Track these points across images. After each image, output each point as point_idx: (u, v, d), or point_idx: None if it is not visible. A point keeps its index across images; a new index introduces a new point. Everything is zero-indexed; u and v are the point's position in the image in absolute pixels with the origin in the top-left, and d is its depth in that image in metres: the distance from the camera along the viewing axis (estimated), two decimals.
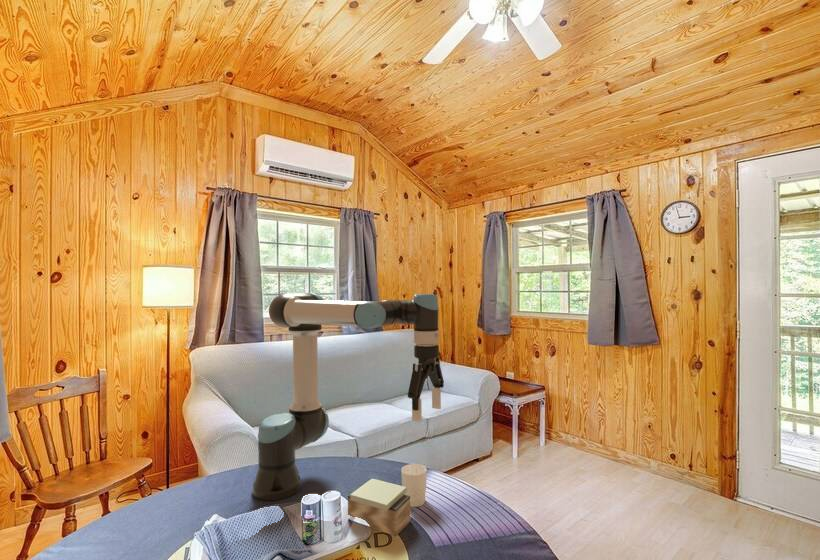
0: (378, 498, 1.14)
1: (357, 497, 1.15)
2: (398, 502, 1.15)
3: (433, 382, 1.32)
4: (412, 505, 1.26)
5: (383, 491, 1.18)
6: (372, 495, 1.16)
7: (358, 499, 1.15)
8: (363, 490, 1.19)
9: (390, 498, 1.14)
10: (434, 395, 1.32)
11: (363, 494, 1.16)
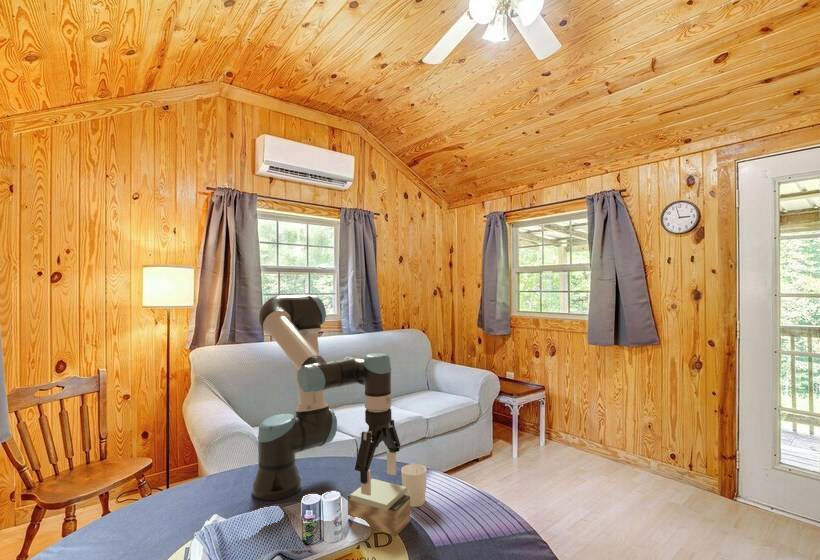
0: (378, 498, 1.14)
1: (357, 497, 1.15)
2: (398, 502, 1.15)
3: (388, 446, 1.24)
4: (412, 505, 1.26)
5: (383, 491, 1.18)
6: (372, 495, 1.16)
7: (358, 499, 1.15)
8: None
9: (390, 498, 1.14)
10: (389, 460, 1.24)
11: (363, 494, 1.16)
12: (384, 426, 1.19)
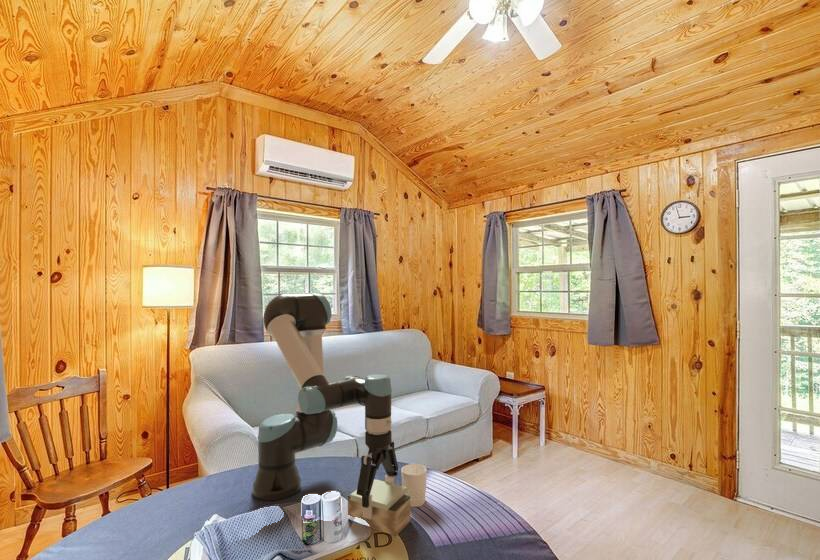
0: (378, 498, 1.14)
1: (357, 497, 1.15)
2: (398, 502, 1.15)
3: (386, 469, 1.23)
4: (412, 505, 1.26)
5: (383, 491, 1.18)
6: (372, 495, 1.16)
7: (358, 499, 1.15)
8: None
9: (390, 498, 1.14)
10: None
11: None
12: (384, 447, 1.19)
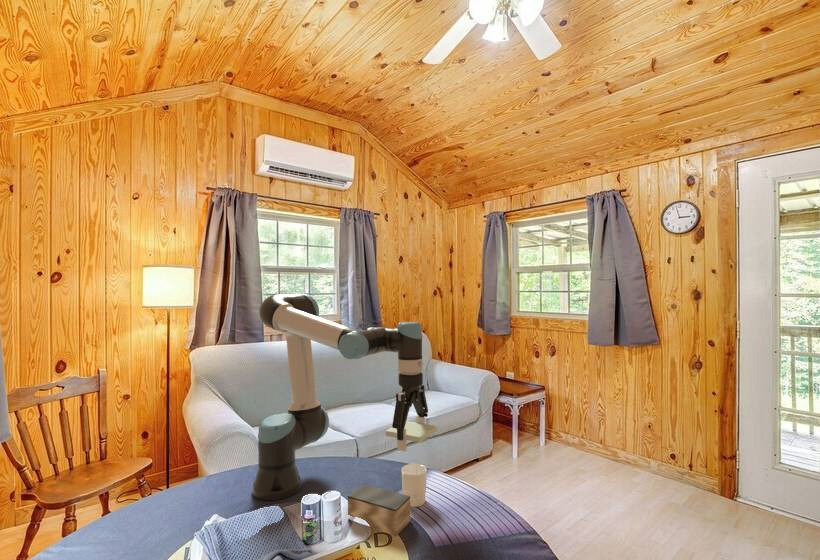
0: (412, 433, 1.24)
1: (392, 432, 1.25)
2: (398, 502, 1.15)
3: (417, 411, 1.33)
4: (412, 505, 1.26)
5: (415, 428, 1.27)
6: (406, 431, 1.25)
7: (393, 434, 1.25)
8: None
9: (423, 432, 1.24)
10: None
11: None
12: (416, 388, 1.29)
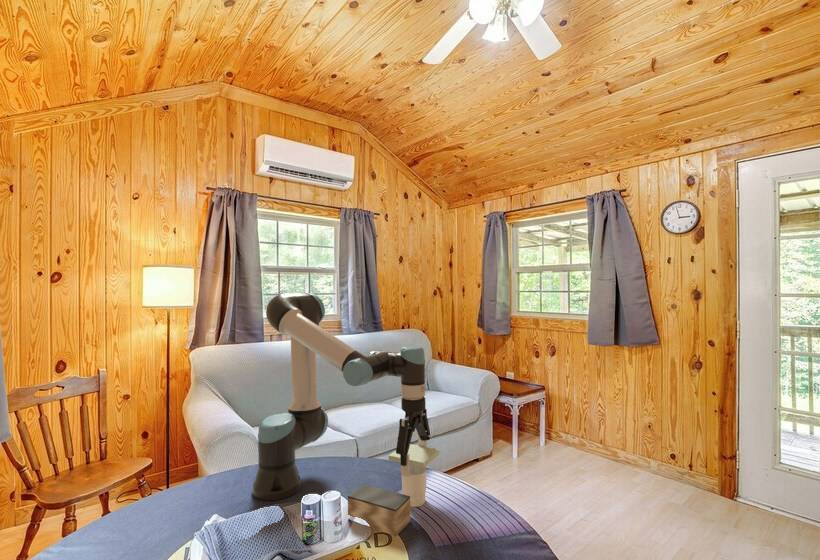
0: (415, 458, 1.25)
1: (396, 457, 1.26)
2: (398, 502, 1.15)
3: (419, 434, 1.34)
4: (412, 505, 1.26)
5: (418, 452, 1.28)
6: None
7: (396, 459, 1.26)
8: None
9: (426, 457, 1.25)
10: None
11: None
12: (418, 412, 1.30)
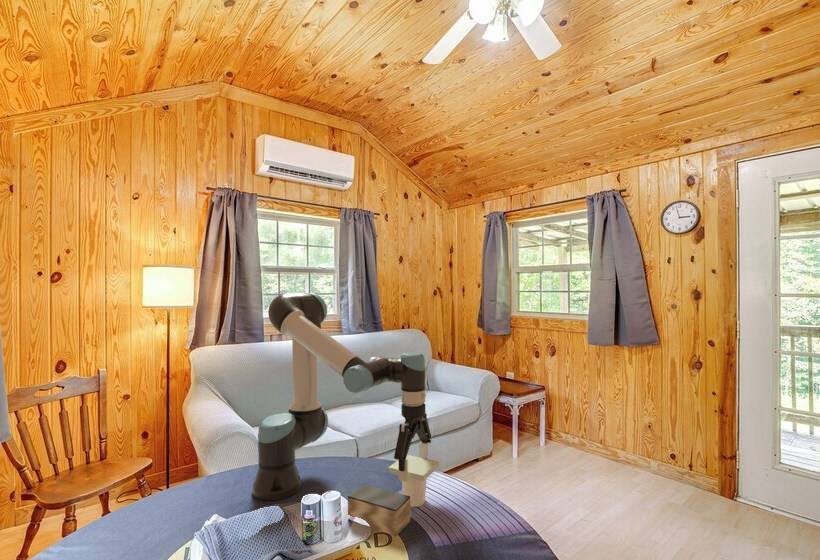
0: (415, 470, 1.25)
1: (395, 469, 1.26)
2: (398, 502, 1.15)
3: (420, 438, 1.35)
4: (412, 505, 1.26)
5: (418, 465, 1.28)
6: (409, 468, 1.26)
7: (396, 471, 1.26)
8: None
9: (426, 470, 1.25)
10: (421, 450, 1.35)
11: None
12: (418, 419, 1.30)
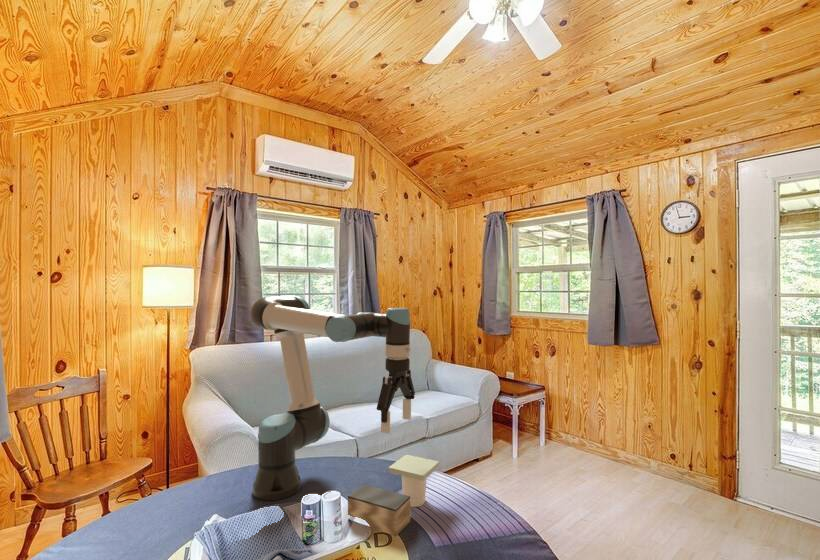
0: (415, 470, 1.25)
1: (395, 469, 1.26)
2: (398, 502, 1.15)
3: (404, 393, 1.35)
4: (412, 505, 1.26)
5: (418, 465, 1.28)
6: (409, 468, 1.26)
7: (396, 471, 1.26)
8: (400, 463, 1.29)
9: (426, 470, 1.25)
10: (405, 406, 1.35)
11: (400, 467, 1.27)
12: (402, 374, 1.30)
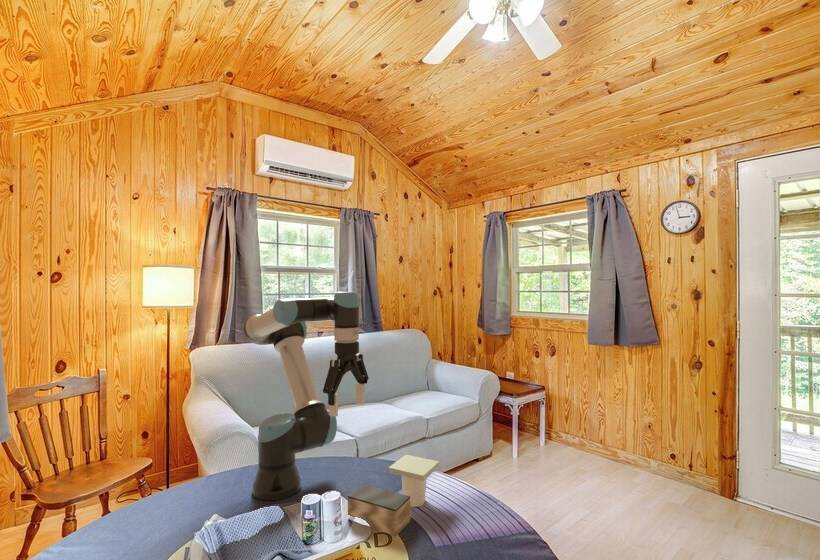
0: (415, 470, 1.25)
1: (395, 470, 1.26)
2: (398, 502, 1.15)
3: (356, 378, 1.35)
4: (412, 505, 1.26)
5: (418, 465, 1.28)
6: (409, 468, 1.26)
7: (396, 471, 1.26)
8: (400, 464, 1.29)
9: (426, 470, 1.25)
10: (358, 391, 1.35)
11: (400, 467, 1.27)
12: (352, 357, 1.30)
